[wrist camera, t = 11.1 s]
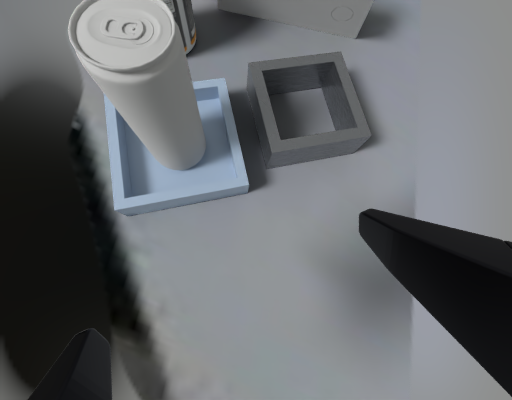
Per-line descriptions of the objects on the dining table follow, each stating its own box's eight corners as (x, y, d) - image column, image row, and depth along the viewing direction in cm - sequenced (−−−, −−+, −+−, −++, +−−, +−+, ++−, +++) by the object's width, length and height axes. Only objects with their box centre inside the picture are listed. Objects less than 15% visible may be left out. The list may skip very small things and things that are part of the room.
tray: (247, 193, 23) (249, 184, 20) (128, 216, 21) (114, 210, 19) (225, 95, 25) (224, 77, 23) (117, 110, 24) (103, 93, 21)
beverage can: (202, 175, 22) (168, 78, 10) (148, 169, 22) (49, 62, 10) (210, 127, 23) (186, -7, 12) (158, 121, 23) (80, -24, 11)
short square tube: (353, 153, 25) (371, 135, 21) (266, 169, 24) (271, 152, 20) (327, 78, 27) (340, 51, 23) (246, 89, 26) (248, 62, 22)
